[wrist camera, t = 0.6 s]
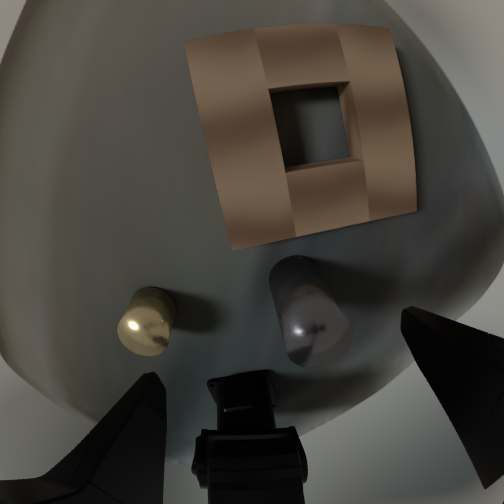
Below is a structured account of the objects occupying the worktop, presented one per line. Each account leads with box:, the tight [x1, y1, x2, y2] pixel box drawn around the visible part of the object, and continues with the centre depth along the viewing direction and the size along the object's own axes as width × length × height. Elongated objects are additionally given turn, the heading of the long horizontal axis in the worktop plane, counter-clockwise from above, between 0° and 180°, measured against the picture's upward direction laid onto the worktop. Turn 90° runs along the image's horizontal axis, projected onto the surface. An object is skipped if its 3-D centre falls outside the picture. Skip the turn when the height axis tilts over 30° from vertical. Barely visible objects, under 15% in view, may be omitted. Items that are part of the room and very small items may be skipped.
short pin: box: [118, 287, 176, 356], centre depth 21 cm, size 4×4×4 cm
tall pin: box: [269, 256, 353, 367], centre depth 19 cm, size 4×4×8 cm
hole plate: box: [184, 24, 417, 251], centre depth 17 cm, size 14×14×2 cm
